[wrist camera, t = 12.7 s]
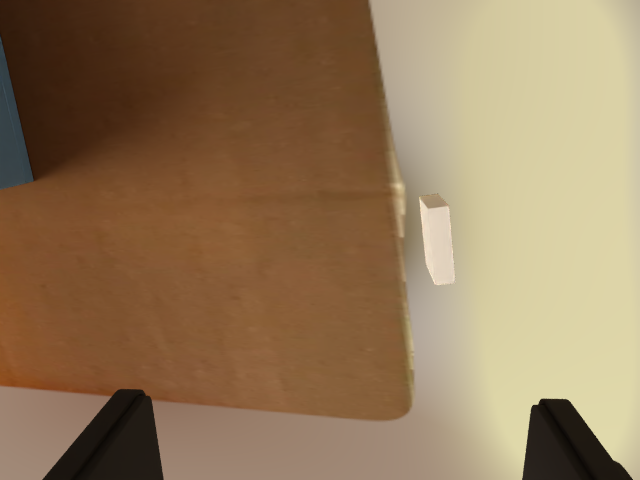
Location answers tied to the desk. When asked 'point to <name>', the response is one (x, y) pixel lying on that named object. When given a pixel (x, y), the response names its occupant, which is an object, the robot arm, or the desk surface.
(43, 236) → the desk surface
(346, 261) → the desk surface
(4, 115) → the blue open box
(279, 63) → the desk surface
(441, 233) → the eraser
